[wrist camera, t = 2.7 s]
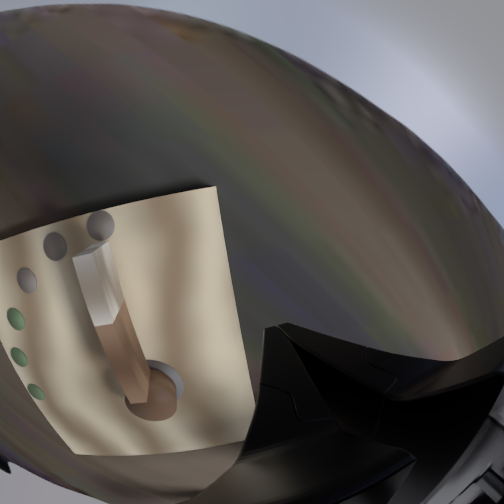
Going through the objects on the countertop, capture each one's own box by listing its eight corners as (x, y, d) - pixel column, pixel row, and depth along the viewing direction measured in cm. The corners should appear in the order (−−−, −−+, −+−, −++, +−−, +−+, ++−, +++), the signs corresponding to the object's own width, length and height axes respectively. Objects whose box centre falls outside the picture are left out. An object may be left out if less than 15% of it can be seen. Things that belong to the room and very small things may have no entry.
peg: (182, 401, 20) (184, 435, 16) (138, 407, 19) (135, 440, 15) (129, 235, 16) (115, 247, 12) (76, 247, 15) (51, 262, 12)
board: (213, 186, 18) (215, 186, 17) (259, 427, 24) (262, 436, 23) (-22, 249, 14) (-31, 252, 13) (76, 446, 20) (74, 454, 19)
